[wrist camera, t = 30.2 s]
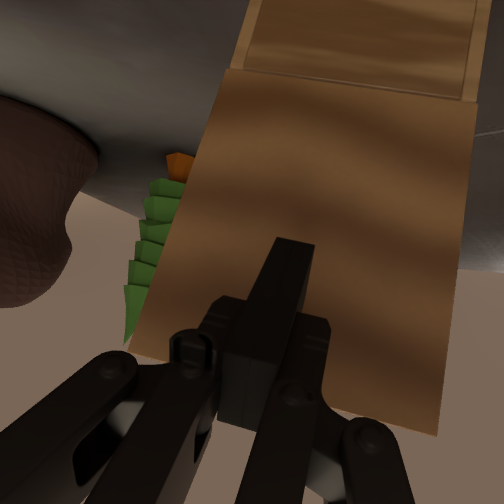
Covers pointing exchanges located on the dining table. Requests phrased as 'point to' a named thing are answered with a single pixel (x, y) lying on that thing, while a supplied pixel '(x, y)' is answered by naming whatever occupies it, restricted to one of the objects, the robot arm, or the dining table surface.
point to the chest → (369, 43)
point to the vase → (36, 198)
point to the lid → (329, 230)
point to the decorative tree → (154, 234)
